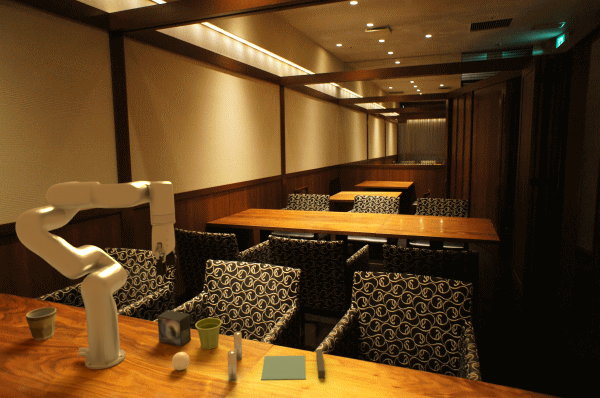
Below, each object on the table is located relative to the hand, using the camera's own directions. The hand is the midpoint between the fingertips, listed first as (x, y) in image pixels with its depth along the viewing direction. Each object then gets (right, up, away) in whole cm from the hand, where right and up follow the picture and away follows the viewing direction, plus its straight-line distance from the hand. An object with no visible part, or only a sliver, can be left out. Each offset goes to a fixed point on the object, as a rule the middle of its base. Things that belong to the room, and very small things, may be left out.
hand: (166, 269), depth 132 cm
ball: (+5, -30, -1) cm, 30 cm away
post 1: (+23, -33, -7) cm, 41 cm away
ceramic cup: (-57, -30, +24) cm, 69 cm away
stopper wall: (+51, -32, -1) cm, 60 cm away
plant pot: (+11, -31, +14) cm, 36 cm away
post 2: (+23, -32, +5) cm, 40 cm away
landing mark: (+39, -32, -1) cm, 51 cm away
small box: (-3, -31, +18) cm, 36 cm away
